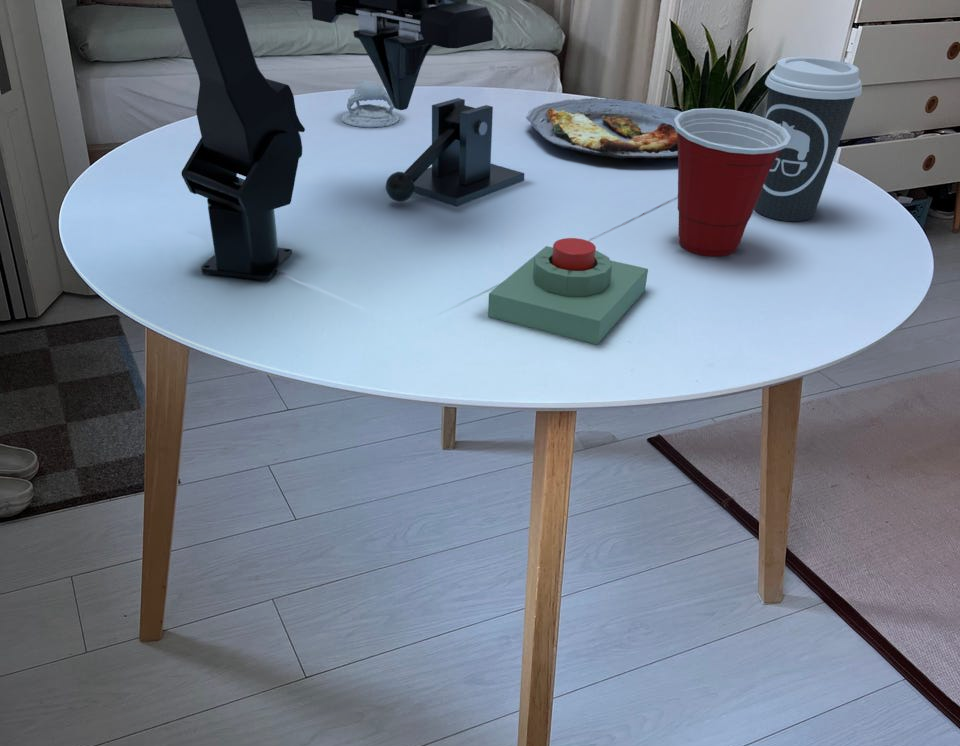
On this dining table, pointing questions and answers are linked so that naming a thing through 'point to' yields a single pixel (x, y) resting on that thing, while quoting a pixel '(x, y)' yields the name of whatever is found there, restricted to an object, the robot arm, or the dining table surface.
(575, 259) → the button
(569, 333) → the button block
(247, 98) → the robot arm
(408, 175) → the control lever
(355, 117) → the miniature
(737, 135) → the plastic cup
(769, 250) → the dining table surface
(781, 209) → the coffee cup
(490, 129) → the lever bracket
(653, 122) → the food plate
